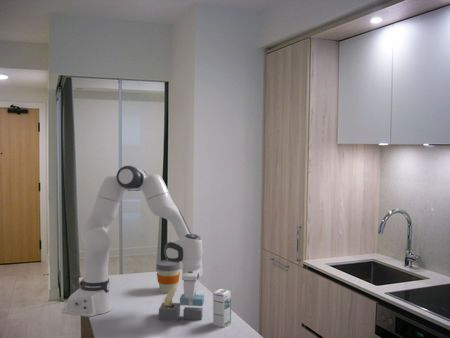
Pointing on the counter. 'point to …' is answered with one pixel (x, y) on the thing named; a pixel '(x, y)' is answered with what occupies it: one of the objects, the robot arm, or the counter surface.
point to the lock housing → (174, 312)
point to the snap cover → (197, 300)
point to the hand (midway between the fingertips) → (192, 301)
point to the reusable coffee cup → (168, 275)
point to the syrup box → (222, 307)
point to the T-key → (169, 298)
